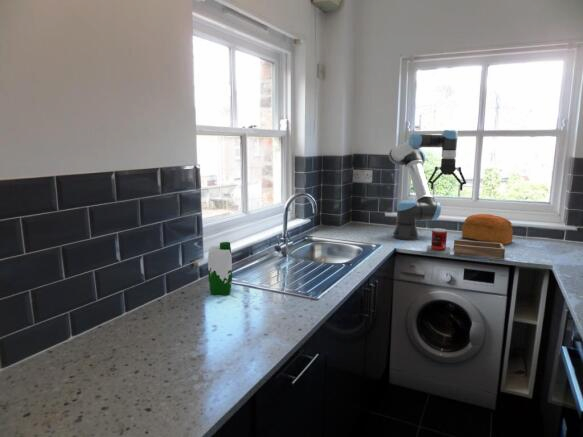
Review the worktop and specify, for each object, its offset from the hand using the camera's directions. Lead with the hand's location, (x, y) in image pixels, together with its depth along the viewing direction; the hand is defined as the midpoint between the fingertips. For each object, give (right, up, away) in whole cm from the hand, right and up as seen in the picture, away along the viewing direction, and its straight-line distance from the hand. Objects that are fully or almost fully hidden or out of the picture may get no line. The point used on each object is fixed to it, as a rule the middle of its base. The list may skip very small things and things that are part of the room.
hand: (445, 195), depth 235 cm
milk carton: (-116, -42, -72) cm, 143 cm away
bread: (+32, -26, +18) cm, 45 cm away
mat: (-6, -30, -6) cm, 32 cm away
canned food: (-6, -30, -6) cm, 31 cm away
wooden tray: (+12, -32, -13) cm, 36 cm away
